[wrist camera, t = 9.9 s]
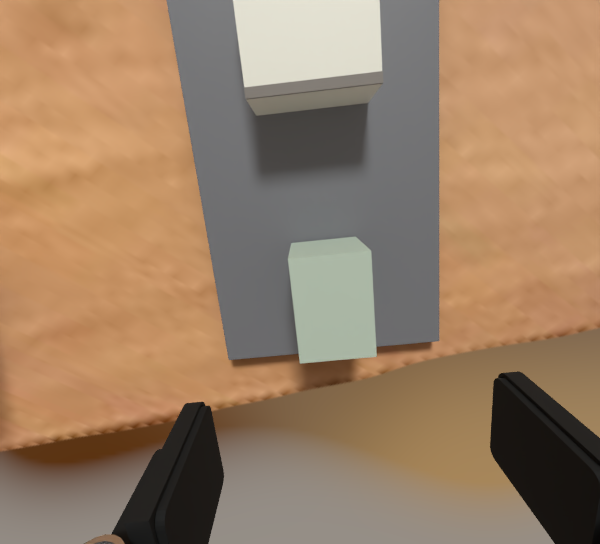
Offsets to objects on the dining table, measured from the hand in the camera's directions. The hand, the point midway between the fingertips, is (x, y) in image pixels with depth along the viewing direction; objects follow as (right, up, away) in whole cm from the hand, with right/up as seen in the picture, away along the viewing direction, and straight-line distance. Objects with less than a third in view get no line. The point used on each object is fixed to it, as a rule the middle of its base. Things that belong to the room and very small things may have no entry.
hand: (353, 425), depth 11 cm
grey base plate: (0, +12, +15) cm, 20 cm away
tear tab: (0, +4, +16) cm, 16 cm away
